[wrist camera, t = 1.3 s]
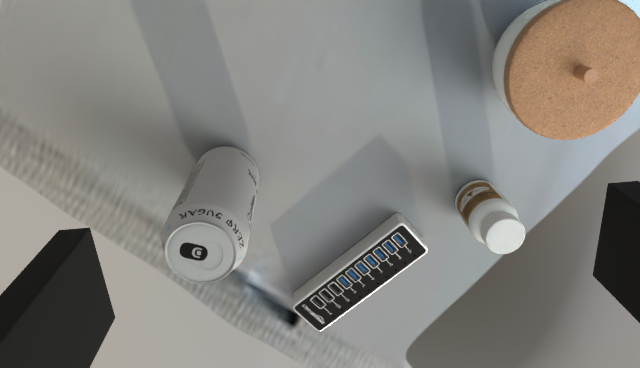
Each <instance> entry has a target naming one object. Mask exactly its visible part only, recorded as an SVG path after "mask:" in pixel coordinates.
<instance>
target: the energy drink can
mask: <svg viewBox="0 0 640 368" xmlns="http://www.w3.org/2000/svg"><path fill="white" fill-rule="evenodd" d="M259 180H260V177H259V171H258V167H257V165H256V163H255V162H254V160H253V159H252V158H251V157H250V156H249V155H248V154H247V153H245V152H244V151H242V150H240V149H237V148H234V147H228V146H223V147H217V148H214V149H211V150H209V151H208V152H206V153H205V154H203V156H202V157H201V158H200V159H199V161H198V162H197V164H196V166H195V168H194V170H193V172H192V173H191V175H190V177H189V179H188V181H187V183H186V185H185V187H184V189H183V190H182V192H181V194H180V196H179V198H178V200H177V202H176V204H175V205H174V207H173V209H172V211H171V213H170V215H169V217H168V219H167V221H166V222H165V224H164V227H163V230H162V237H161V240H162V247H163V249H164V254H165V259H166V262H167V264H168V266H169V267H170V269H171V270H172V271H173V272H174V273H175V274H176V275H177V276H179V277H180V278H181V279H183V280H185V281H188V282H191V283H195V284H210V283H214V282H217V281H219V280H221V279H223V278H224V277H226V276H227V275H228V274H229V273H230V272H231V271H232V270H234V269H235V268H236V267H237V266H238V265H239V264H240V263H241V262H242V260H243V259H244V257H245V254H246V252H247V246H248V241H249V235H250V230H251V225H252V219H253V214H254V208H255V203H256V197H257V192H258V186H259Z"/></svg>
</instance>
